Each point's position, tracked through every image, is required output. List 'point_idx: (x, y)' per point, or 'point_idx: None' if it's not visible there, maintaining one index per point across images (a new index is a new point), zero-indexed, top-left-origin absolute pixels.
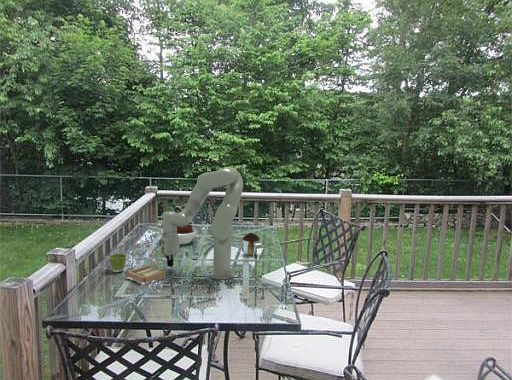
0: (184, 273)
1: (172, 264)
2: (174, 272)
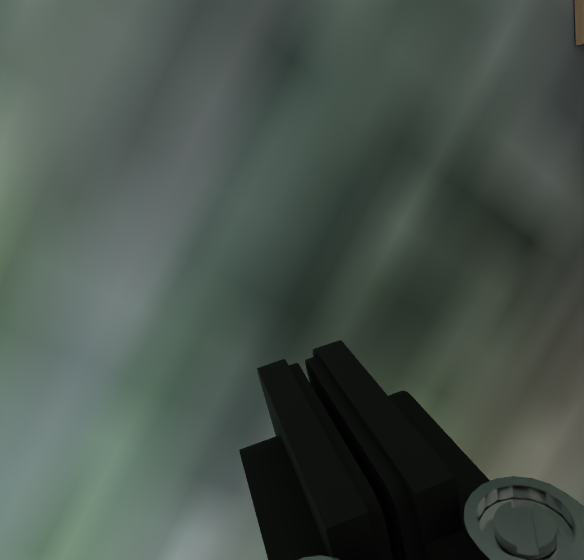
0: (14, 43)
1: (299, 385)
2: (221, 256)
